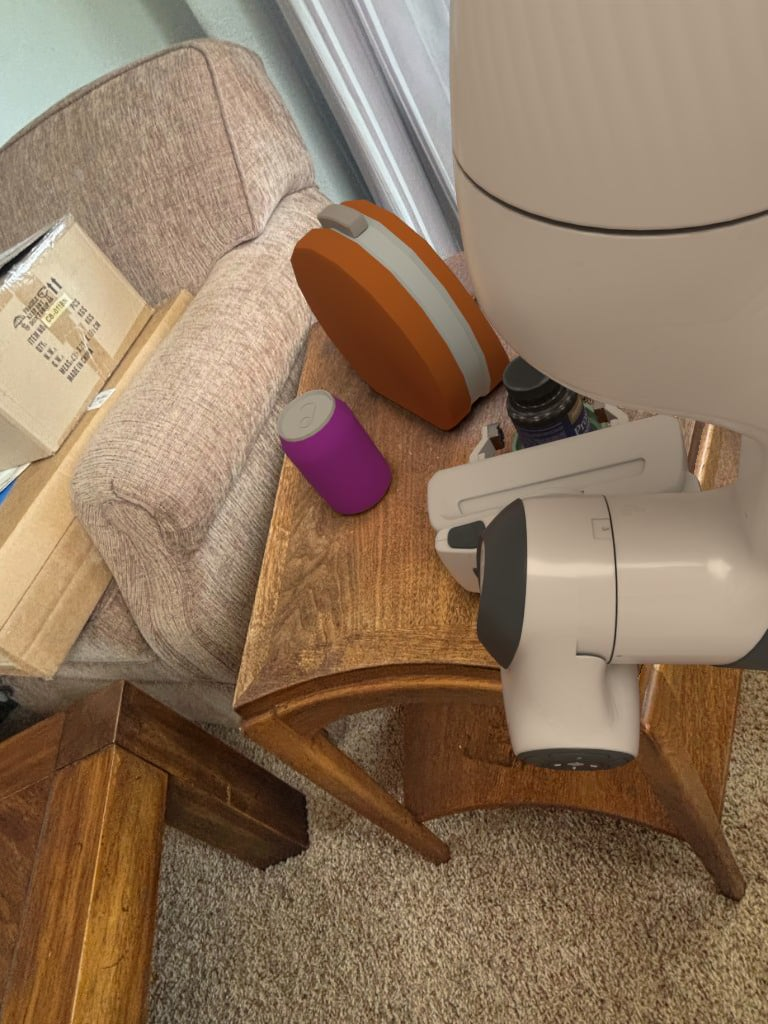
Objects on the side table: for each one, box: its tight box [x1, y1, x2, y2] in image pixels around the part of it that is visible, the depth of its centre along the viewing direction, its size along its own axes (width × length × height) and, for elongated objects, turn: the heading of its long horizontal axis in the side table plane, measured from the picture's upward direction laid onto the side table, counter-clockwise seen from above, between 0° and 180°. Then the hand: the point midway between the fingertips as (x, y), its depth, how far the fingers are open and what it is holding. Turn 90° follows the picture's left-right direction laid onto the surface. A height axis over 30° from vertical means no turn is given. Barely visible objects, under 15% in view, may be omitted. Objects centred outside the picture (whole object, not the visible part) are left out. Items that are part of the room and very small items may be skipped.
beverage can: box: [276, 389, 392, 515], centre depth 73 cm, size 8×8×12 cm
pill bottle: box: [502, 355, 593, 449], centre depth 63 cm, size 6×6×11 cm
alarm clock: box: [289, 198, 511, 431], centre depth 74 cm, size 22×10×23 cm, turn 39°
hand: (546, 414), depth 62 cm, fingers open, 8 cm apart
